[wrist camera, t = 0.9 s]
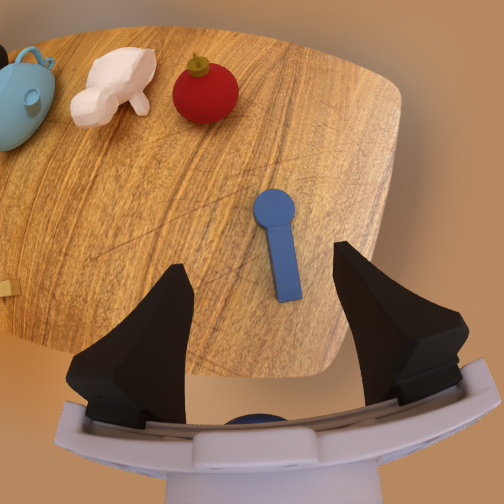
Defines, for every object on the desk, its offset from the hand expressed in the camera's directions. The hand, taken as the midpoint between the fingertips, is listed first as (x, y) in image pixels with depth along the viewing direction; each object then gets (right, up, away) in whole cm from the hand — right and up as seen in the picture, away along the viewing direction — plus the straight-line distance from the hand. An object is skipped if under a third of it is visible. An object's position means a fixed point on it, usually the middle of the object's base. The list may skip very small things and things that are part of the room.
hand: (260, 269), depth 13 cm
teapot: (-36, +23, +16) cm, 45 cm away
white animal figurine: (-17, +21, +16) cm, 31 cm away
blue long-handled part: (+2, +2, +15) cm, 15 cm away
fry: (-37, -5, +14) cm, 40 cm away
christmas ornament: (-5, +18, +16) cm, 24 cm away
